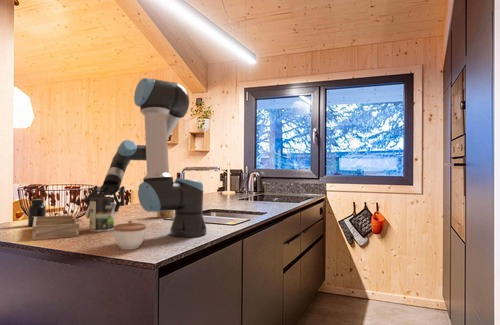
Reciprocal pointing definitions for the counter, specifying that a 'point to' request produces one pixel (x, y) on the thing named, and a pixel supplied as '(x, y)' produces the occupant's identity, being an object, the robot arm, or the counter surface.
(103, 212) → the coffee can
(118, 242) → the lidded jar
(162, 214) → the candy box
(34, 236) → the caddy
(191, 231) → the robot arm
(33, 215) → the supplement bottle
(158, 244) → the counter surface
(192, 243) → the counter surface
